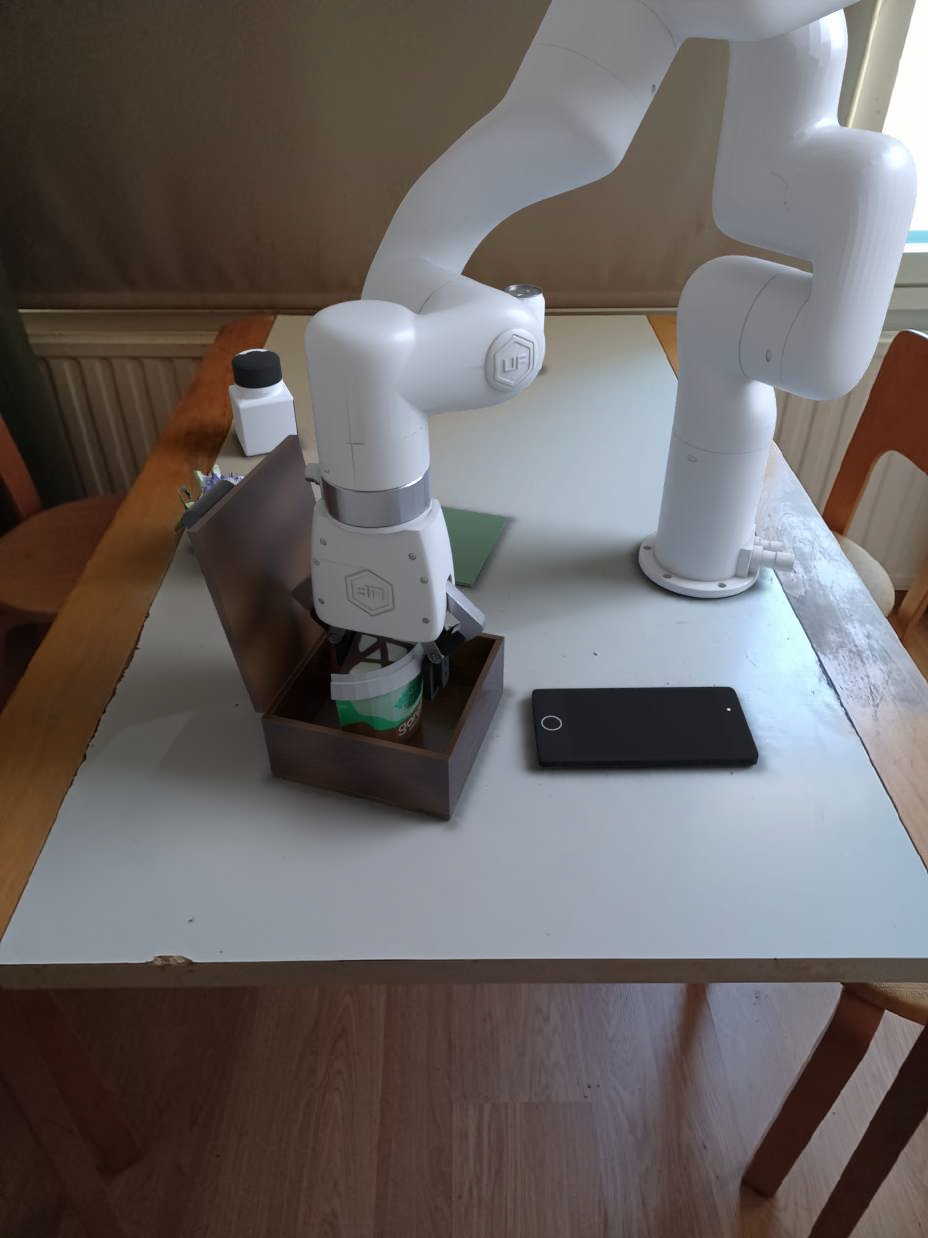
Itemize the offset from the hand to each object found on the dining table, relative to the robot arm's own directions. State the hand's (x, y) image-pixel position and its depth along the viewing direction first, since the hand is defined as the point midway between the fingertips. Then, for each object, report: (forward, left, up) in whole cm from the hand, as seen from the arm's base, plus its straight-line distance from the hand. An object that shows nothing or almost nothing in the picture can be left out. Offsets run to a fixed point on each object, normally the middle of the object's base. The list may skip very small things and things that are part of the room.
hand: (393, 679), depth 74 cm
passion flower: (+28, -21, -6) cm, 36 cm away
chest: (0, 0, -6) cm, 6 cm away
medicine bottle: (+36, -46, -6) cm, 59 cm away
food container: (0, 0, -5) cm, 5 cm away
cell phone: (-20, -6, -6) cm, 22 cm away
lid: (+9, 0, +9) cm, 13 cm away
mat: (+10, -29, -6) cm, 31 cm away
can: (+10, -80, -6) cm, 81 cm away
